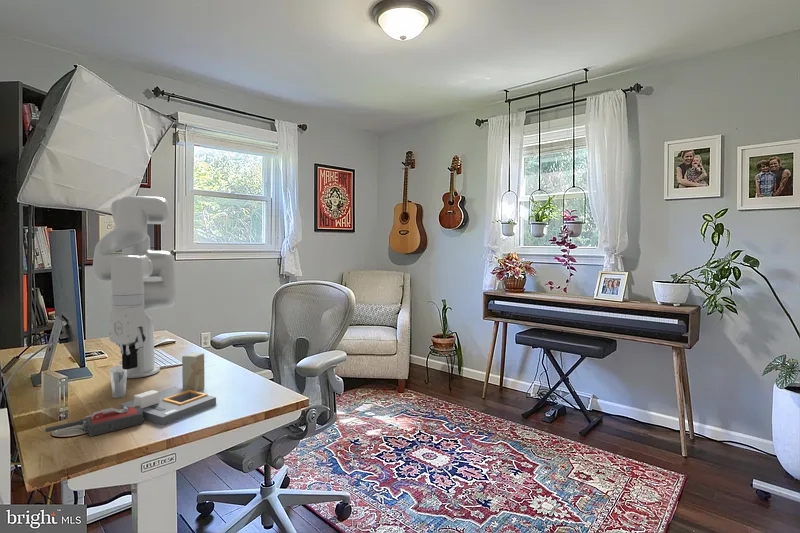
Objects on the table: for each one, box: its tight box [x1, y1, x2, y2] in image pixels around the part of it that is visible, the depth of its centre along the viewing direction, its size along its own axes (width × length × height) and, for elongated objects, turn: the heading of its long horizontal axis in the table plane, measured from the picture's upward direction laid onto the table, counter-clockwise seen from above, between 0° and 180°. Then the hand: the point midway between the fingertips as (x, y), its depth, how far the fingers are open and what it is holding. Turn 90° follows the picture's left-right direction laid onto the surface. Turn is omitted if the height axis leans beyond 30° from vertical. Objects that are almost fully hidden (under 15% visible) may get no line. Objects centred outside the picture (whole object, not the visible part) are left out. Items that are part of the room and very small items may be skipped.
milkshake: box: [108, 364, 128, 399], centre depth 131 cm, size 4×5×10 cm
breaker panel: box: [119, 386, 217, 426], centre depth 122 cm, size 18×16×2 cm
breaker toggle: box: [133, 389, 160, 409], centre depth 118 cm, size 3×5×3 cm, turn 152°
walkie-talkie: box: [44, 406, 144, 437], centre depth 108 cm, size 9×4×20 cm
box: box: [181, 352, 206, 392], centre depth 137 cm, size 5×4×11 cm
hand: (130, 368), depth 121 cm, fingers closed
